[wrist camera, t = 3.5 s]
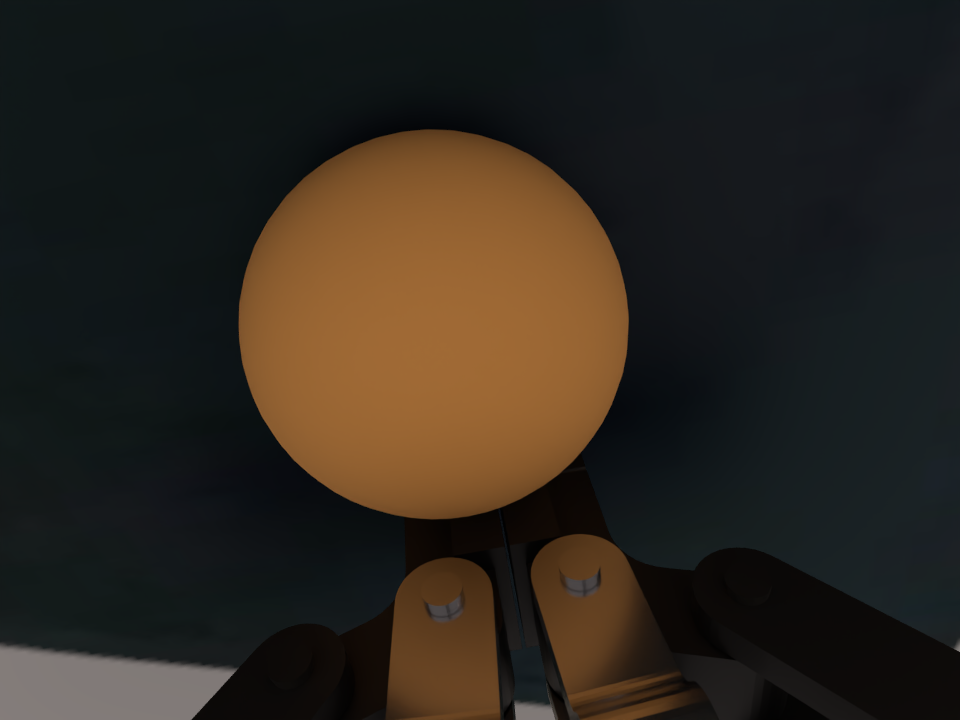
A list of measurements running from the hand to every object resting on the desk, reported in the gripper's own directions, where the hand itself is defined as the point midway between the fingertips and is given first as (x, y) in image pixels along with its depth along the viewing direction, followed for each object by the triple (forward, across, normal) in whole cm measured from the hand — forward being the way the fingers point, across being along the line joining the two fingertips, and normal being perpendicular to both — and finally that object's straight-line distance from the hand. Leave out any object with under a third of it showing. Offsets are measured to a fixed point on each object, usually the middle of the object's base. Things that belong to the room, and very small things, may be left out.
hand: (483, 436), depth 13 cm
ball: (-2, 0, -4) cm, 4 cm away
